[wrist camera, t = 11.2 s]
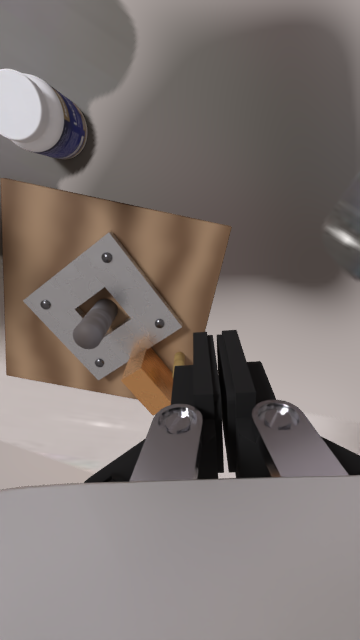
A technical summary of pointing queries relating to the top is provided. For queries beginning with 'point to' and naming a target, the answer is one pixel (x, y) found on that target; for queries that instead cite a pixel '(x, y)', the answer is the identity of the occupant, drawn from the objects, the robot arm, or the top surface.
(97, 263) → the flange plate
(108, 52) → the top surface
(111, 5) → the top surface
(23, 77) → the pill bottle
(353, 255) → the top surface
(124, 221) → the board
